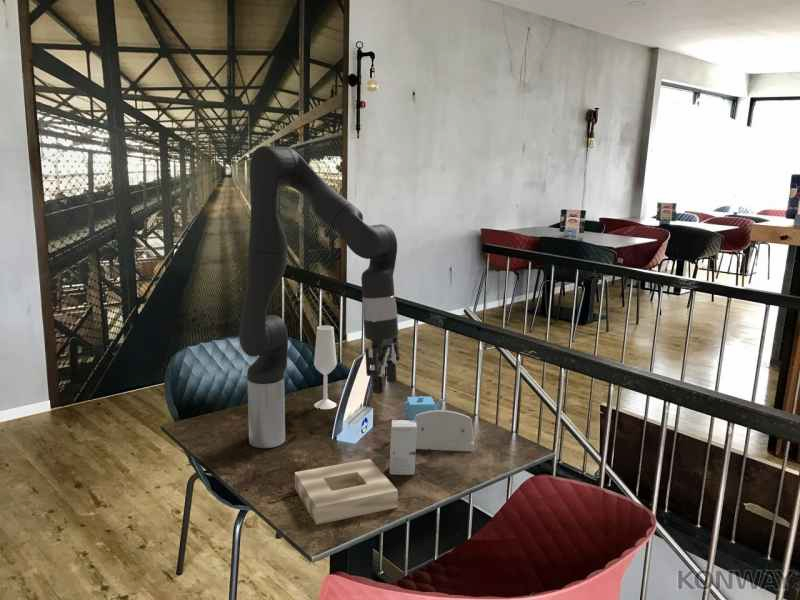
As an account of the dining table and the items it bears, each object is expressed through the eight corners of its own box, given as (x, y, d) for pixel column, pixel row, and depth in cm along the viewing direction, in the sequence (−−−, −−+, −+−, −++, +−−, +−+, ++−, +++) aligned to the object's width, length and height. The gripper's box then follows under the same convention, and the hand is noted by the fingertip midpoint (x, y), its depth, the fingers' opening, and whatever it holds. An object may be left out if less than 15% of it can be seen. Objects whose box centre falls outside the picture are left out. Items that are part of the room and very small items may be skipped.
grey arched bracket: (409, 448, 169) (411, 409, 170) (410, 446, 173) (411, 408, 175) (474, 451, 168) (475, 412, 169) (473, 449, 173) (474, 411, 174)
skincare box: (389, 475, 154) (390, 427, 152) (389, 466, 159) (390, 419, 156) (415, 475, 155) (417, 427, 152) (414, 466, 159) (416, 419, 156)
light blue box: (442, 417, 190) (443, 392, 188) (446, 425, 184) (447, 400, 182) (401, 418, 189) (401, 393, 187) (403, 426, 183) (404, 401, 181)
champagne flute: (341, 405, 197) (341, 327, 192) (324, 411, 192) (323, 331, 187) (326, 399, 201) (326, 323, 196) (309, 404, 197) (309, 327, 192)
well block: (295, 488, 147) (294, 472, 146) (369, 474, 154) (369, 458, 153) (316, 524, 133) (316, 506, 132) (397, 507, 140) (397, 490, 139)
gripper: (376, 310, 152) (381, 378, 155) (351, 322, 139) (357, 396, 141) (406, 310, 150) (411, 379, 152) (384, 322, 137) (389, 397, 139)
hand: (385, 387), depth 147 cm, fingers open, 8 cm apart
